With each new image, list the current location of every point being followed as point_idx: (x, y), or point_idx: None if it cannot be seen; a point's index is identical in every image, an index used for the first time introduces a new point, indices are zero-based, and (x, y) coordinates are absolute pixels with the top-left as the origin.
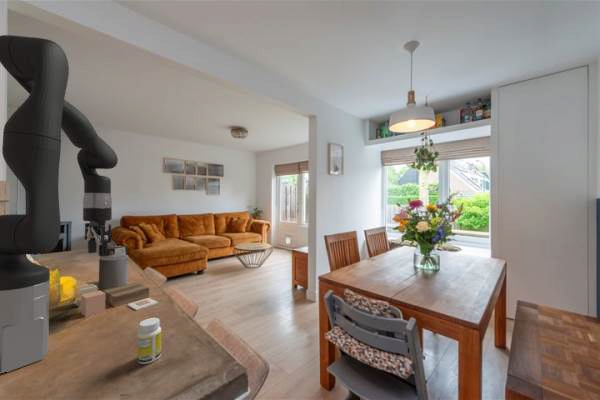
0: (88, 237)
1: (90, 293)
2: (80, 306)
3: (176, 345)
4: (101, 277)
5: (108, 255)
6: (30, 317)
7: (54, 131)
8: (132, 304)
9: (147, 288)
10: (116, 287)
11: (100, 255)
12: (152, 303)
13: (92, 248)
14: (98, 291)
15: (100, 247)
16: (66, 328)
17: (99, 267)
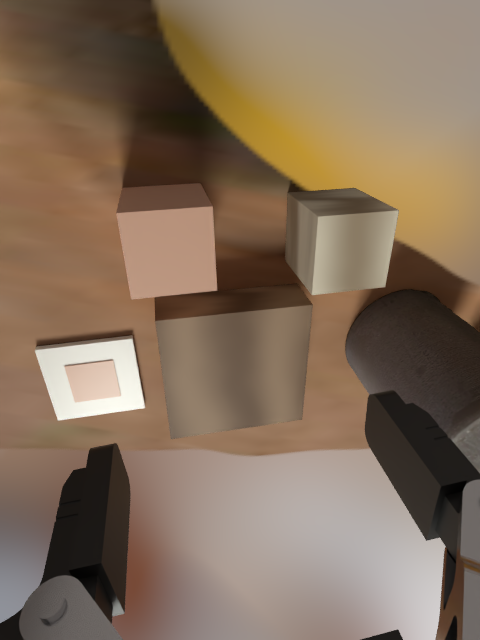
0: (461, 571)
1: (196, 246)
2: (288, 199)
3: None
4: (433, 335)
5: None
6: None
7: None
8: (110, 351)
9: (170, 433)
10: (304, 352)
11: (94, 455)
12: (57, 403)
13: (391, 449)
14: (200, 281)
15: (80, 542)
16: (24, 92)
17: None
